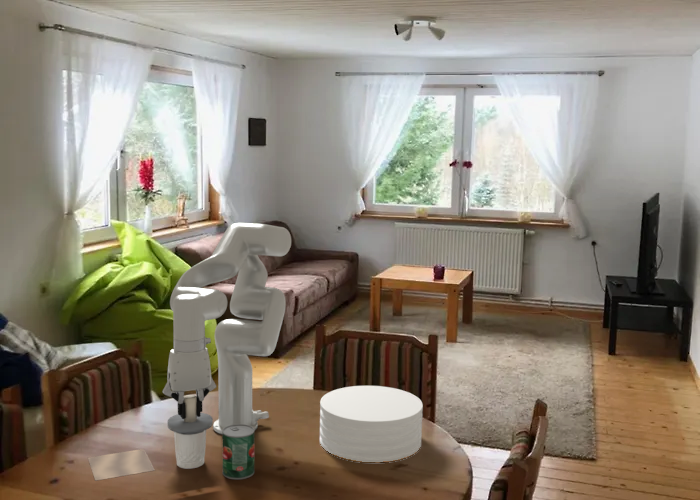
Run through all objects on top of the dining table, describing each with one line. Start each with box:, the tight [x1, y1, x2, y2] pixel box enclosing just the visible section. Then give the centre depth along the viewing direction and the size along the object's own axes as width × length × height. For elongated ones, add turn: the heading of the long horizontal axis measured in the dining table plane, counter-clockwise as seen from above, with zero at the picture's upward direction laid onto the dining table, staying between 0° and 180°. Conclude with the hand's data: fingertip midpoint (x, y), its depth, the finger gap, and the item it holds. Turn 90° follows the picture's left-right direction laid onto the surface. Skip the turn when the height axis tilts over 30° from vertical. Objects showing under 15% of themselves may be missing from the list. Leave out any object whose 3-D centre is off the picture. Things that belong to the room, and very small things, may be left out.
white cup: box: [173, 430, 207, 470], centre depth 187 cm, size 8×8×10 cm
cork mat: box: [87, 448, 156, 481], centre depth 186 cm, size 14×14×1 cm
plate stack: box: [319, 385, 424, 462], centre depth 205 cm, size 28×28×12 cm
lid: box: [167, 394, 214, 433], centre depth 186 cm, size 11×11×7 cm
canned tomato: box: [221, 424, 256, 480], centre depth 184 cm, size 8×8×11 cm
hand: (190, 415), depth 186 cm, fingers closed on lid, 3 cm apart
